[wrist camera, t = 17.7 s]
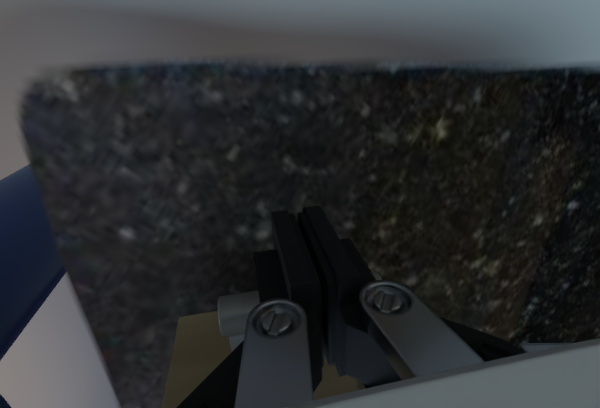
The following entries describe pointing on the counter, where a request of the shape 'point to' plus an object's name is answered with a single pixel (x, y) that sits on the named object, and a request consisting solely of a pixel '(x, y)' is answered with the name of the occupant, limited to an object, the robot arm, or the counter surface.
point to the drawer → (226, 349)
